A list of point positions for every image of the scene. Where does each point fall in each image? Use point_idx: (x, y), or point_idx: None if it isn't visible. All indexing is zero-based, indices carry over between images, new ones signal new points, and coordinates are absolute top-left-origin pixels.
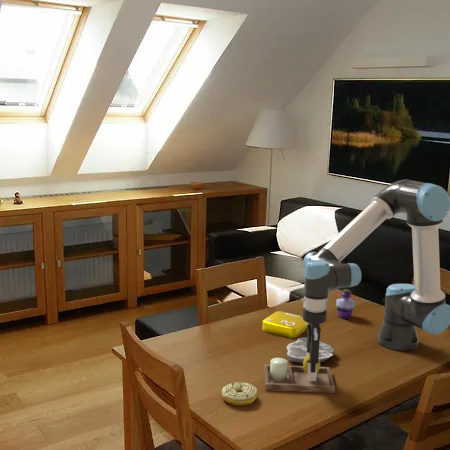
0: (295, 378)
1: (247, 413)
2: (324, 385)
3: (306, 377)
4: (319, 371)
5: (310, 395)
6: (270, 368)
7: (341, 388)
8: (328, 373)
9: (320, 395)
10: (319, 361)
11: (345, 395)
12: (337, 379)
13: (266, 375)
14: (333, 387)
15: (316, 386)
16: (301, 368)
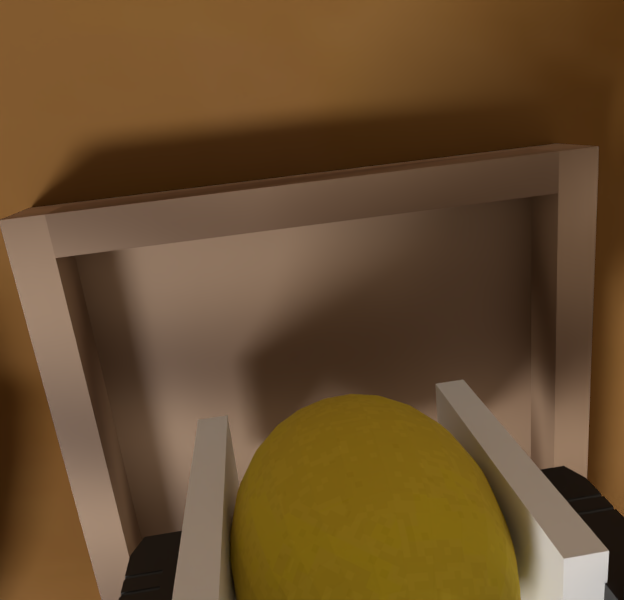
0: None
1: None
2: (564, 282)
3: None
4: (90, 335)
5: (619, 392)
6: None
7: (435, 54)
8: (218, 233)
9: (615, 299)
10: (404, 483)
11: (603, 13)
12: (197, 96)
13: None
14: (592, 169)
15: (590, 370)
16: (133, 550)
